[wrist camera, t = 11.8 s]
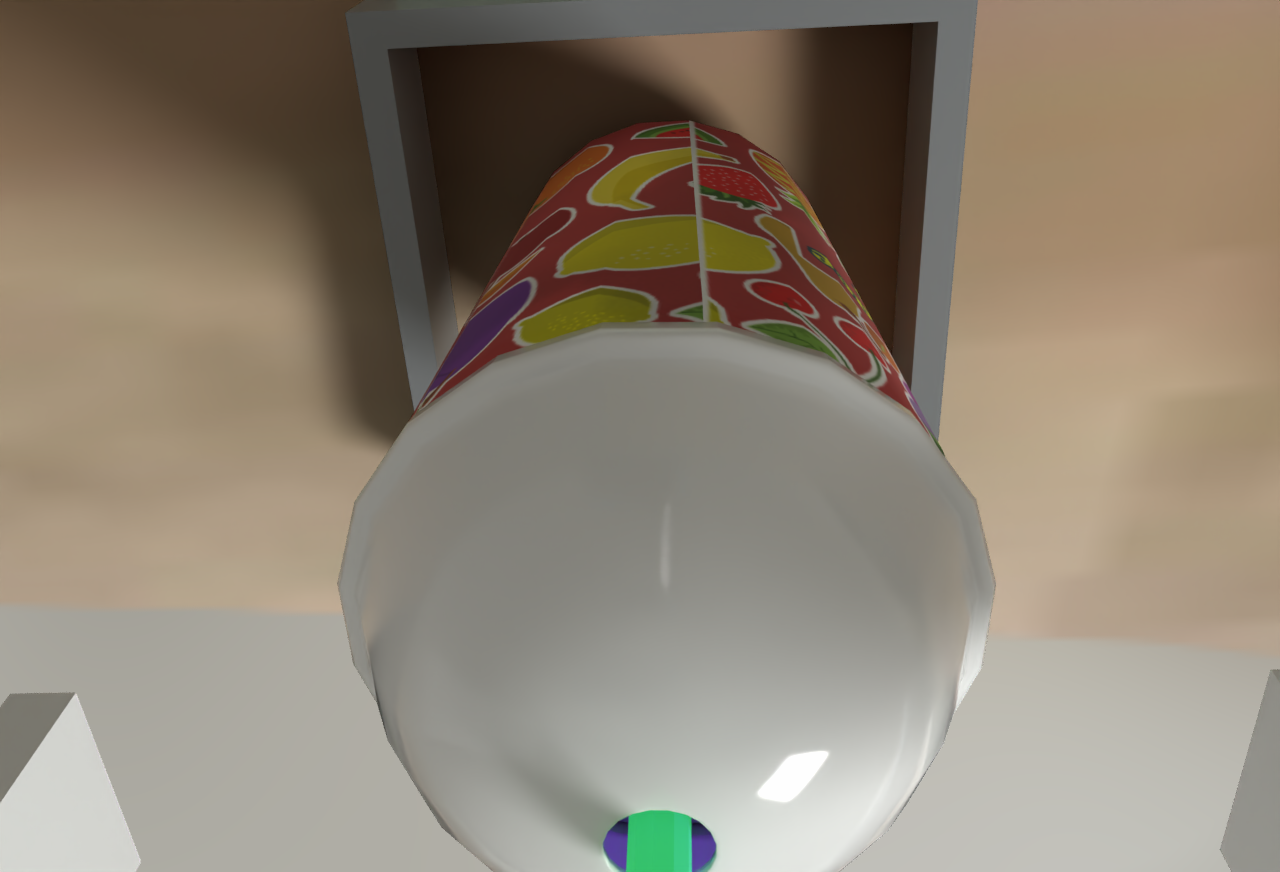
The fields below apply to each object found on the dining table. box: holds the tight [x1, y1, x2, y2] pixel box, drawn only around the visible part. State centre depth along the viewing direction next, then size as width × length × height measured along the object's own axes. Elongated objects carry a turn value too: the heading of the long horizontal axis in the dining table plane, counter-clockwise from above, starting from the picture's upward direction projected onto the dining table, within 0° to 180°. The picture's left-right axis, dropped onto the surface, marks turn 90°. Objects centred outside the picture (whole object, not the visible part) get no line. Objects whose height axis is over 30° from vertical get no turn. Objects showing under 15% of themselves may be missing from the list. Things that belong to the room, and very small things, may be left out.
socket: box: [345, 0, 978, 441], centre depth 25 cm, size 12×12×2 cm
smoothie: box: [337, 120, 996, 872], centre depth 18 cm, size 8×8×20 cm
